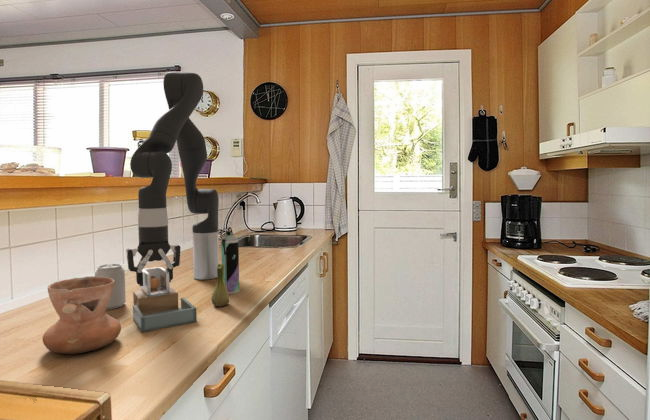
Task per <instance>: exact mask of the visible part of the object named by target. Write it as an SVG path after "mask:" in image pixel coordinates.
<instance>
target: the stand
mask: <svg viewBox="0 0 650 420" xmlns="http://www.w3.org/2000/svg"><path fill="white" fill-rule="evenodd" d="M169 287H170V294H167V295H160V296H153V297H147V296H146V295H145V293H144V292H143V291H142V289H138V290H132V291H133V292H132V296H133V298H132V299H133V305H137V307H138V308H139V310H140V311H141V313H142V314H149V313H154V312H160V311H166V310H172V309H177V308H179V293H178V291H177V290H176V289H174V288H173V287H172V286H171V285H169Z"/></svg>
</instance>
